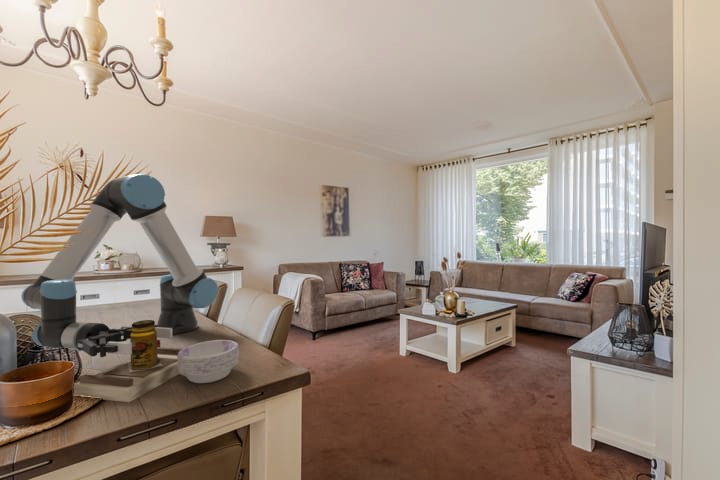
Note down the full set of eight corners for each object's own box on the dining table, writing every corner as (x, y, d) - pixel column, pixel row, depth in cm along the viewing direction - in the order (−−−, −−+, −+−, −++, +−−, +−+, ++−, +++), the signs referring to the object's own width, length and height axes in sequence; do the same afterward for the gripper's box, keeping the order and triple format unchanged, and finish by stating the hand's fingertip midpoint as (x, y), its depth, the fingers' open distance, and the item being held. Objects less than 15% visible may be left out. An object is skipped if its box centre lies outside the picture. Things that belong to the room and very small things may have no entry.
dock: (152, 360, 104) (152, 345, 104) (198, 363, 101) (198, 348, 101) (72, 396, 81) (72, 377, 80) (129, 402, 77) (128, 382, 77)
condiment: (129, 373, 86) (128, 326, 86) (127, 363, 92) (126, 320, 92) (162, 366, 90) (161, 321, 90) (158, 357, 97) (157, 316, 97)
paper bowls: (169, 377, 91) (169, 348, 91) (224, 361, 102) (224, 335, 102) (190, 395, 81) (189, 362, 81) (249, 375, 92) (248, 346, 91)
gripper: (126, 336, 106) (185, 340, 102) (37, 367, 82) (109, 372, 78) (126, 313, 106) (185, 315, 102) (36, 336, 82) (109, 340, 78)
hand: (152, 340), depth 90 cm, fingers open, 13 cm apart
